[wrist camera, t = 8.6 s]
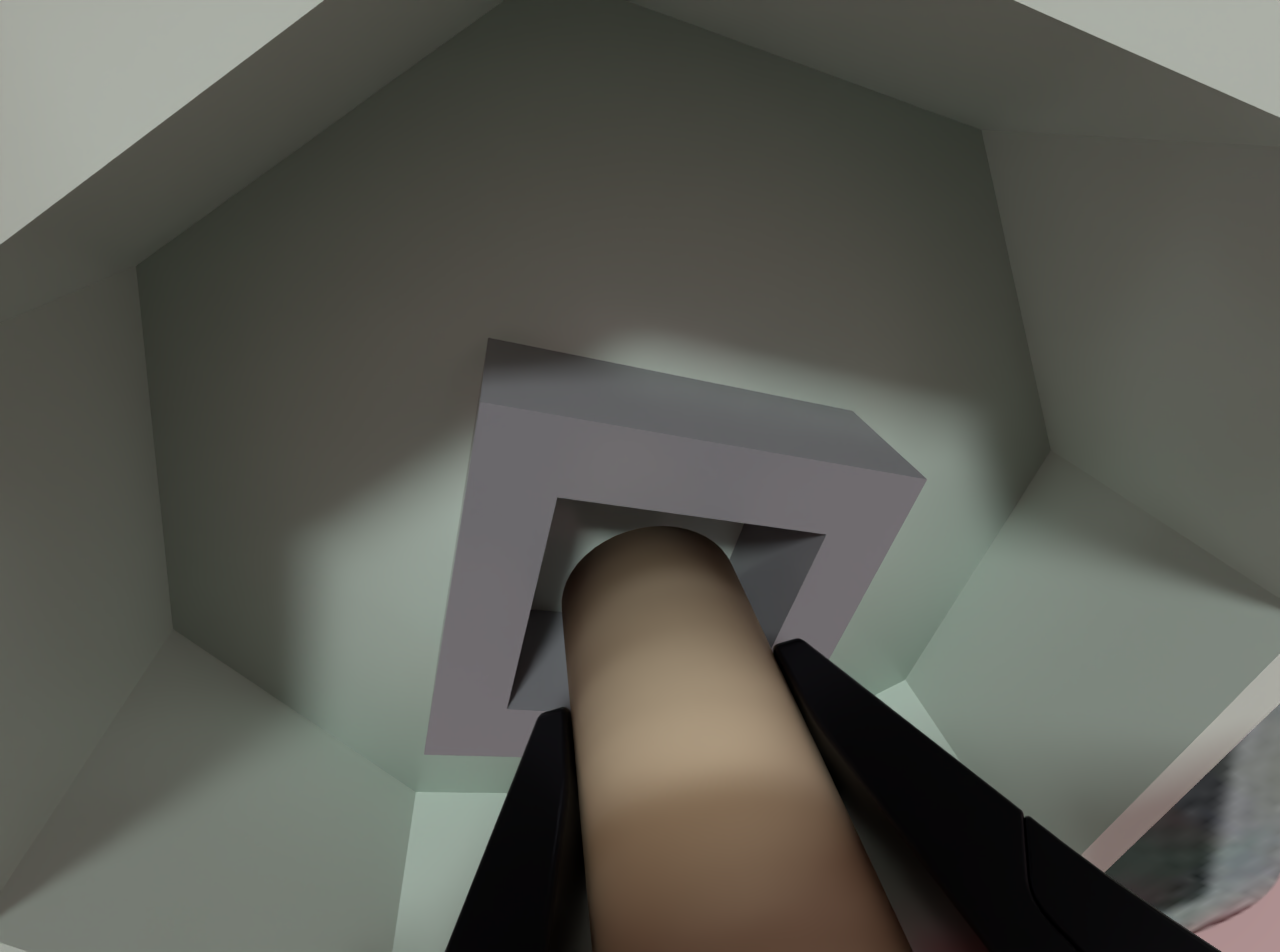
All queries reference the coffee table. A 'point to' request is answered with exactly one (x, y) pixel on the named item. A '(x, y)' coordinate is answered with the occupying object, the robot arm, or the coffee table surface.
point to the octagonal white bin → (606, 412)
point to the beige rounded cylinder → (702, 768)
